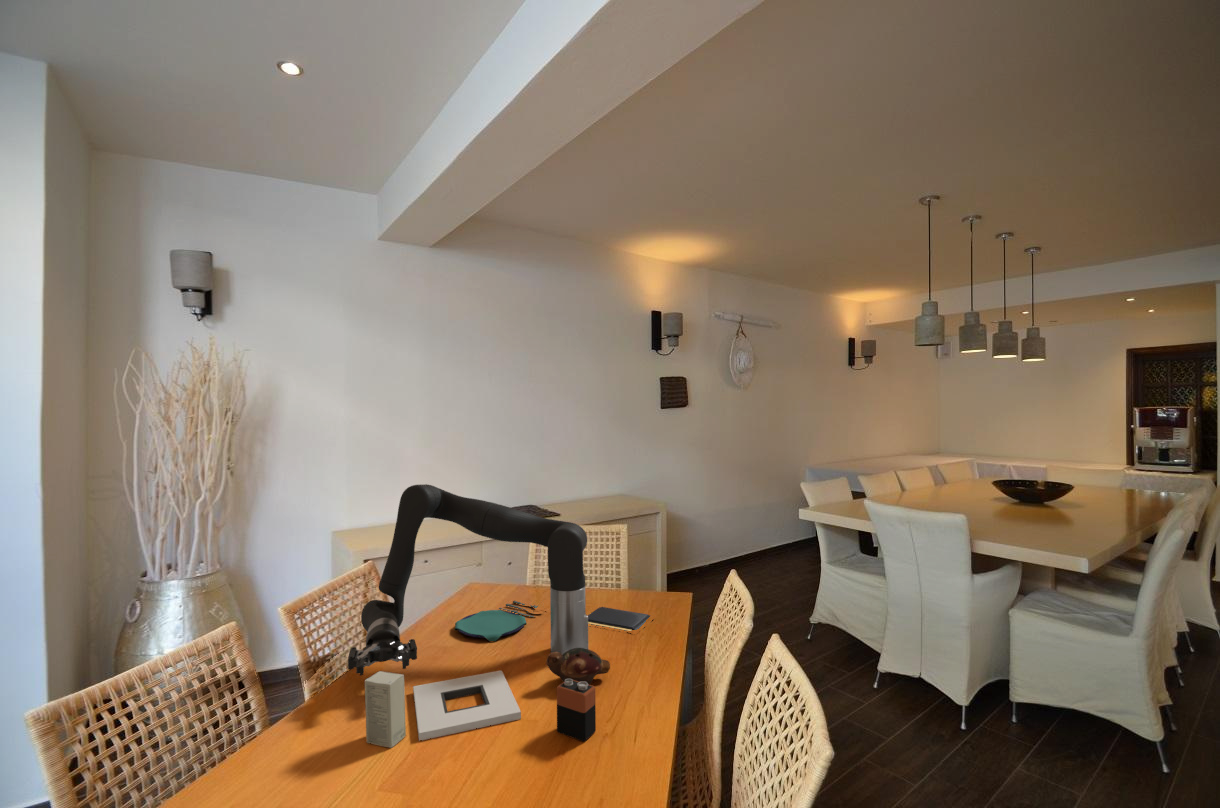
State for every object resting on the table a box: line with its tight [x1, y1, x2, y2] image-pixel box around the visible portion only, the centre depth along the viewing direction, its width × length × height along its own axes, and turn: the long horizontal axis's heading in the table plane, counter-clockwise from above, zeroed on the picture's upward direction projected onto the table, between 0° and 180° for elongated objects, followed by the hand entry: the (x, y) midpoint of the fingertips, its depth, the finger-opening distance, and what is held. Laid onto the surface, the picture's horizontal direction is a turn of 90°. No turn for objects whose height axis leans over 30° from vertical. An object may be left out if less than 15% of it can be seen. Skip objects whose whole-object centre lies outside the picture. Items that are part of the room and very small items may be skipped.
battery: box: [556, 679, 597, 742], centre depth 112 cm, size 4×7×10 cm, turn 59°
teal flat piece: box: [454, 600, 539, 642], centre depth 170 cm, size 20×30×2 cm, turn 149°
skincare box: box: [364, 670, 407, 749], centre depth 110 cm, size 6×4×12 cm
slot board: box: [412, 670, 522, 742], centre depth 122 cm, size 20×20×2 cm
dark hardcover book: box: [587, 606, 651, 631], centre depth 170 cm, size 20×2×15 cm
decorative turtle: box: [546, 648, 611, 685], centre depth 132 cm, size 10×15×8 cm, turn 112°
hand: (383, 667), depth 121 cm, fingers open, 8 cm apart
